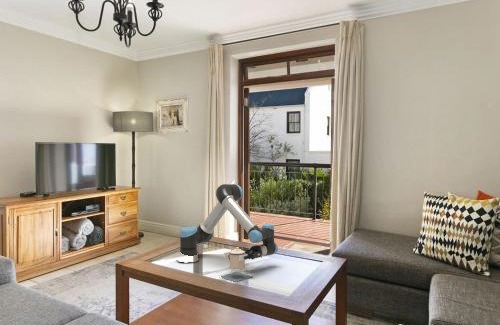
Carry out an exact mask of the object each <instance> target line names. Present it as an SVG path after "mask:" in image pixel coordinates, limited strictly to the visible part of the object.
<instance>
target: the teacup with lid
mask: <svg viewBox="0 0 500 325" xmlns="http://www.w3.org/2000/svg"><path fill="white" fill-rule="evenodd" d="M231 250H232V251H231ZM231 250H230V251H229V252H230V253H229V255H228V257H227V260H228V262H229V269H231V270H233V271H237V270H238V271H239V270H244V269H245V268H246V260H242V261H239V256H241V255H245V251H243V250H241V248H240V247H239V246H236V247H235V248H234V249H231Z"/></svg>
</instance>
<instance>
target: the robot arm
mask: <svg viewBox="0 0 500 325" xmlns="http://www.w3.org/2000/svg"><path fill="white" fill-rule="evenodd" d="M243 191H244V190H243V188H242V187H241V186H240V185H239V184H235V183H233V184H231V183H229V184H227V183H223V184H221V185H220V184H219V186H218V187H217V188H216V191H215V197H216V199H217V203H216V204H215V206H213V208H212V209H211V211H210V213H209V214H208V215H207V217H206V218H205V220H204V221H202V222H200V223H199V225H198V226H193V225H192V226H185V227H182V228H181V229H180V234H179V238H180V240H179V252H181V253H182V254H184V255H188V256H194V255H197V253H198V254H199V252H198V249H197V248H198V245H200V244H205V243H207V242H210V241H211V240H212V239H213V237H214V232H215V227H216V226H217V224H218V223H219V222H220V220H221V219H222V218H223V217H224V215H225V213H226V212H227V211H228V212H229V213H230V215H231V216H232V217H233V218H234V219H235V220H236V221H237V223H238V224H239V225H240V226H241V228H243V230H245V232H246V233H247V234H248V239H249V241H250V242H251V243H252V244H256V245H252V246H251V247H250V248H248V249H247V248H242V249H241V248H240V249H241V250H243V251H245V255H241V256H239V261H242V260H245V261H246V260H256V259H259V258H263V257H267V256H272V255H275V254H276V253H278V251H279V246H278V244H277V243H276V242H275V225H274V224H271V223H265V224H262V228H260V227H259V226H258V225H257V223H255V222H254V220H253V219H252V218H251V217H250V216H249V215H248V213H246V212H245V210H244V209H243V208H242V206H240V205H239V203H238V201H240V200H241V199H242V198H243V195H244V192H243ZM261 242H262V243H261ZM257 243H258V244H257ZM259 243H261V244H259ZM232 250H233V249H230V251H232ZM230 251H227V252H224V253H223V254H224V255H223V257H224V259H226V258H228V255H229V253H230Z"/></svg>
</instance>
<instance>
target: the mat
mask: <svg viewBox="0 0 500 325" xmlns="http://www.w3.org/2000/svg"><path fill="white" fill-rule="evenodd" d="M220 276H221V277H222V278H221V279H223V278H224V279H223V280H226V281H230V282H232V281H233V283H238V282H241V281H245V280H247V279H252V278H254V276H253V275H249V274H245V273H242V272H239V271H235V272H230V273H227V274H223V275H220Z"/></svg>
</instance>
